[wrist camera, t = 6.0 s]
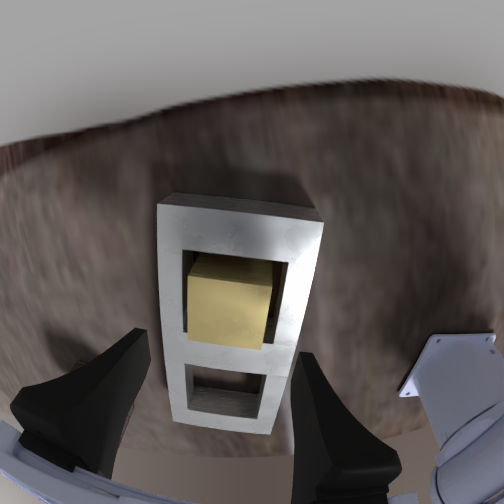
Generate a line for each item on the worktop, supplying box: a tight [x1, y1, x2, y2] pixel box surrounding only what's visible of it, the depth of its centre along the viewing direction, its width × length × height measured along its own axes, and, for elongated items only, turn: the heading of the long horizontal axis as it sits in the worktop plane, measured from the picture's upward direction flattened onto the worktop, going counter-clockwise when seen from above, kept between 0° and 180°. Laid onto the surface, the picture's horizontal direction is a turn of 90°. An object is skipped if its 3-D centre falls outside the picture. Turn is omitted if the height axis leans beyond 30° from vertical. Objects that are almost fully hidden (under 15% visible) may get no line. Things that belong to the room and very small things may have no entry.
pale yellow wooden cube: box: [187, 251, 272, 350], centre depth 19 cm, size 4×4×4 cm
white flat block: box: [157, 192, 324, 434], centre depth 21 cm, size 9×20×3 cm, turn 174°
